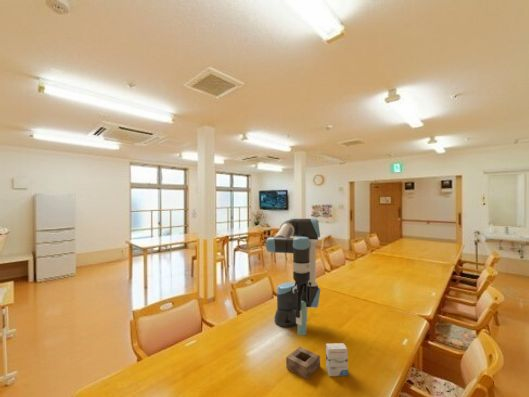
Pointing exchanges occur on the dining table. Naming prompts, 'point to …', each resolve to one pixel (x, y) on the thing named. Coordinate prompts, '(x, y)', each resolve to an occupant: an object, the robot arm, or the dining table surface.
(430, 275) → the dining table surface
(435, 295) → the dining table surface
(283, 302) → the robot arm
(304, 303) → the peg
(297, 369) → the socket block
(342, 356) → the ink box
